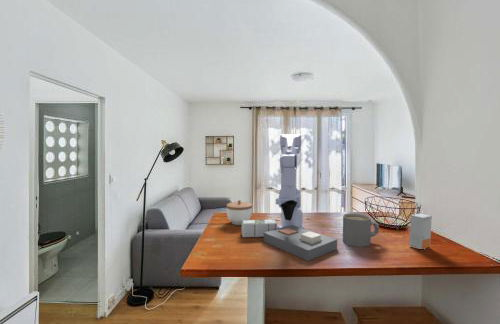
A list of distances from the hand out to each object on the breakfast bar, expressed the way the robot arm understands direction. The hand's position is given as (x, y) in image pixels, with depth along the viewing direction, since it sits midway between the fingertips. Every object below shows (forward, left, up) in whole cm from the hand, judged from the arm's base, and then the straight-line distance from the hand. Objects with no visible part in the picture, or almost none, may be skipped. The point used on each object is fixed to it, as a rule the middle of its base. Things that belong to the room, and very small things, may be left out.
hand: (288, 219), depth 99 cm
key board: (0, +6, -8) cm, 10 cm away
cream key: (0, +11, -7) cm, 13 cm away
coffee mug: (-21, +19, -9) cm, 29 cm away
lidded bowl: (+1, -31, -9) cm, 33 cm away
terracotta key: (0, 0, -8) cm, 8 cm away
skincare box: (-33, +35, -9) cm, 49 cm away
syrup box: (+11, -16, -5) cm, 20 cm away
